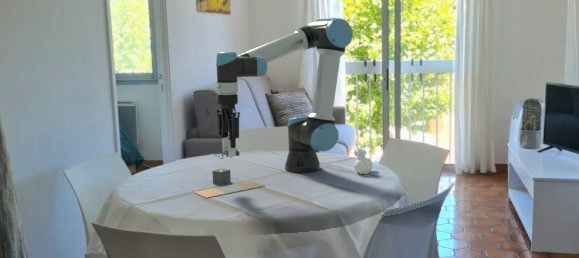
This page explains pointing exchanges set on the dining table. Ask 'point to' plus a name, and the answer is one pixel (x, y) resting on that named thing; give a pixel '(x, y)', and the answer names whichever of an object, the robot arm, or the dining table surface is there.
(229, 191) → the game board
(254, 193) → the dining table surface
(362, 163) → the duck figurine
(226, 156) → the dragon figurine
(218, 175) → the die
